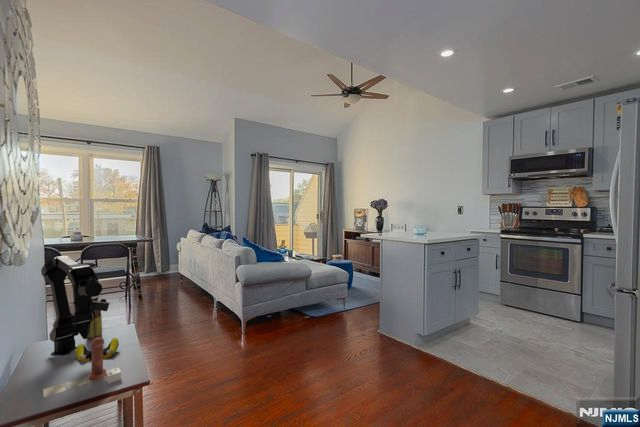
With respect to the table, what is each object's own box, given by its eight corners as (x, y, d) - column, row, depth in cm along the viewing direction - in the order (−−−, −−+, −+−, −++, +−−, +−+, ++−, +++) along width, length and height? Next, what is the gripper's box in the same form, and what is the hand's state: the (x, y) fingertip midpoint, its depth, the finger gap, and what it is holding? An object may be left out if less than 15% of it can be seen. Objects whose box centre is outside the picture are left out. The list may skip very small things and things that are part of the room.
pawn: (86, 381, 109) (86, 341, 108) (91, 373, 114) (91, 335, 113) (103, 379, 111) (103, 340, 110) (107, 371, 116) (108, 333, 115)
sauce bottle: (101, 333, 149) (101, 294, 148) (102, 338, 144) (103, 297, 143) (84, 337, 145) (84, 296, 144) (85, 342, 140) (85, 300, 139)
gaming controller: (76, 356, 128) (72, 367, 120) (76, 343, 128) (72, 354, 119) (118, 347, 136) (118, 357, 128) (118, 335, 136) (118, 345, 128)
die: (107, 386, 108) (107, 375, 108) (105, 381, 111) (105, 371, 111) (121, 382, 111) (121, 371, 111) (118, 377, 114) (118, 367, 114)
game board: (41, 402, 99) (41, 399, 99) (39, 386, 107) (39, 382, 107) (110, 379, 112) (110, 376, 112) (104, 366, 121) (104, 363, 121)
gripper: (106, 294, 118) (110, 334, 117) (107, 290, 133) (111, 326, 132) (69, 301, 112) (73, 344, 111) (75, 296, 127) (79, 334, 126)
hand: (86, 336), depth 120 cm, fingers open, 9 cm apart
